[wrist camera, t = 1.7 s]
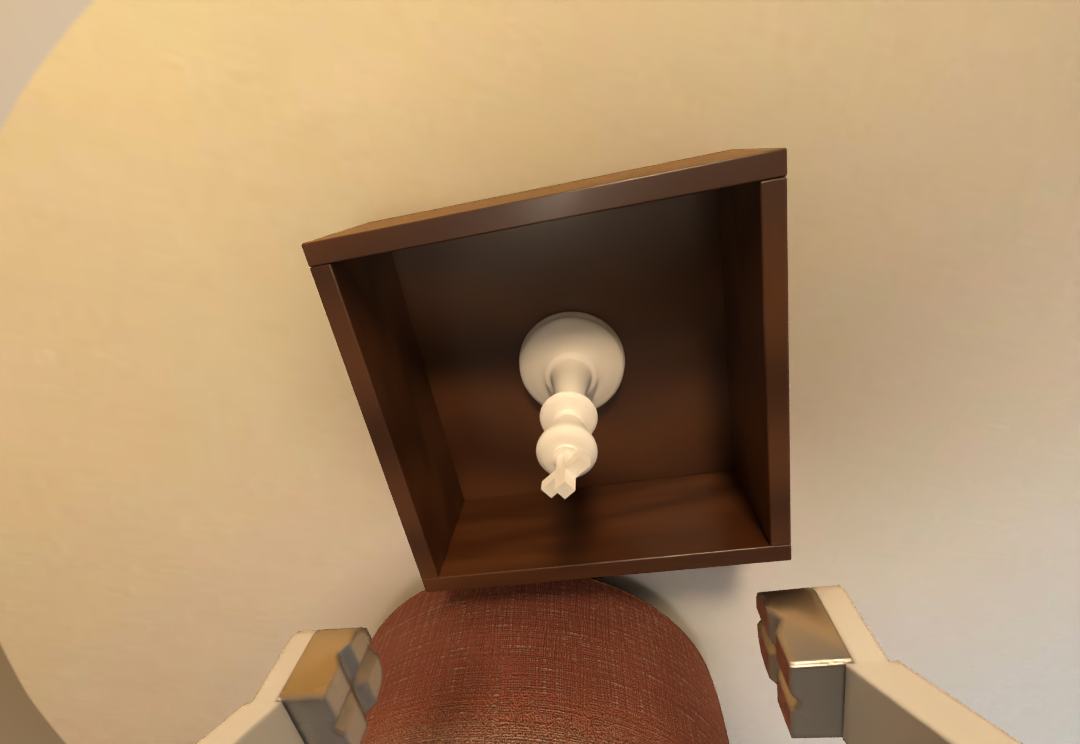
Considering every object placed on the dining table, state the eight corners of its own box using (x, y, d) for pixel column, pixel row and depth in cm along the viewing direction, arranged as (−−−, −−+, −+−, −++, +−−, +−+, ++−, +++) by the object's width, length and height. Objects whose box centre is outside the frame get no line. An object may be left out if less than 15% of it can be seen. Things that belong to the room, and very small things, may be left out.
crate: (367, 222, 23) (300, 244, 17) (732, 149, 20) (787, 147, 15) (456, 509, 28) (426, 593, 23) (748, 476, 26) (791, 560, 21)
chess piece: (497, 362, 24) (446, 487, 15) (571, 288, 23) (563, 379, 13) (572, 427, 25) (565, 582, 16) (647, 362, 24) (687, 492, 15)
